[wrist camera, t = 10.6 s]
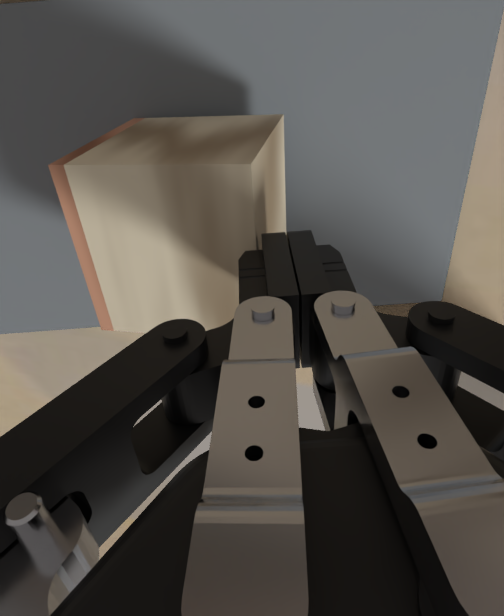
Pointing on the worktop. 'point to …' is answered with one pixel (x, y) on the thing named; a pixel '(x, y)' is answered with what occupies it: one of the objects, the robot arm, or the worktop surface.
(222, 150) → the birch cube
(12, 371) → the worktop surface
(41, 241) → the slate mat
